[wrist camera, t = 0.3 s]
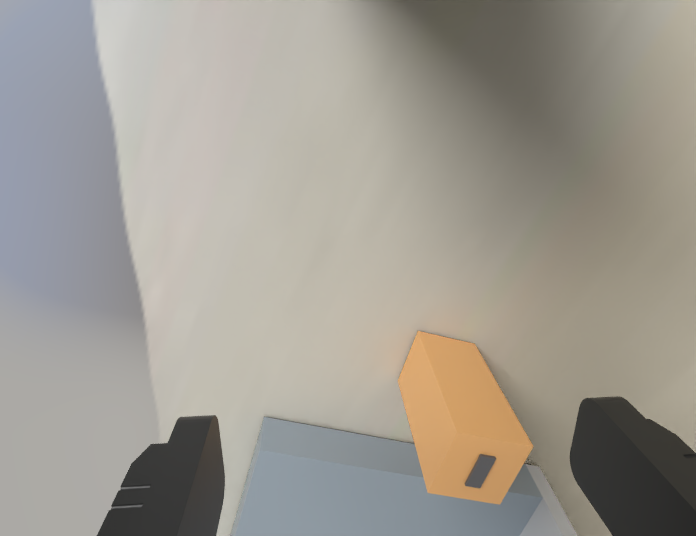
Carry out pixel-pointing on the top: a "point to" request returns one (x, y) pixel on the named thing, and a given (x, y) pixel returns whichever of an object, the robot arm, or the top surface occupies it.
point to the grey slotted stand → (374, 491)
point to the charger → (460, 421)
